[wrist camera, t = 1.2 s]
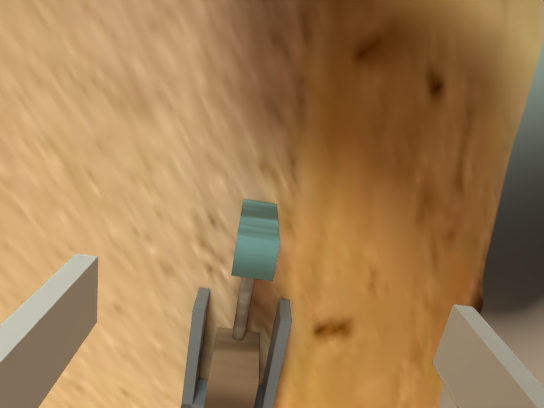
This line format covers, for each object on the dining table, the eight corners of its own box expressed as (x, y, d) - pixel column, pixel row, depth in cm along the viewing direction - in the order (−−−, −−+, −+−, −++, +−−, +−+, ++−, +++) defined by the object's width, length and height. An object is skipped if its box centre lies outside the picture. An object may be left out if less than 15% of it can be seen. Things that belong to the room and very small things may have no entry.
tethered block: (236, 197, 40) (227, 235, 31) (283, 205, 41) (289, 244, 31) (211, 368, 47) (198, 441, 38) (252, 373, 48) (248, 447, 38)
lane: (199, 287, 44) (193, 307, 40) (289, 300, 44) (291, 321, 41) (187, 385, 48) (180, 411, 44) (269, 395, 49) (269, 422, 45)
